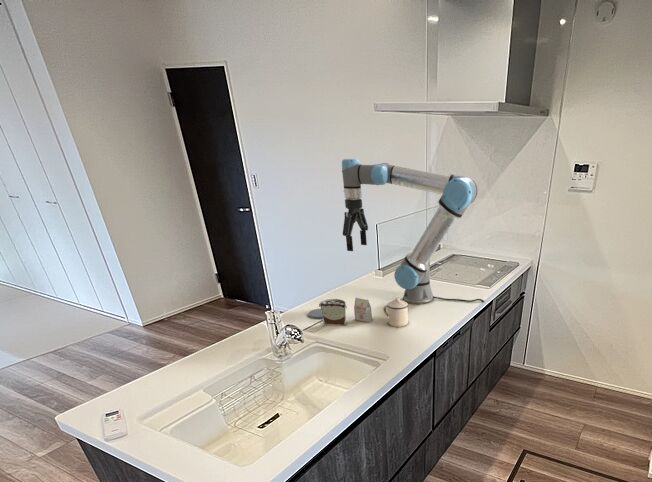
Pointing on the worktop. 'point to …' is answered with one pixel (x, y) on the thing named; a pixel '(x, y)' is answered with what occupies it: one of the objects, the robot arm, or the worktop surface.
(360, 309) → the tea bag
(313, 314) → the saucer
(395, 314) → the teacup with lid
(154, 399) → the worktop surface
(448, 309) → the worktop surface
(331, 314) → the food container
